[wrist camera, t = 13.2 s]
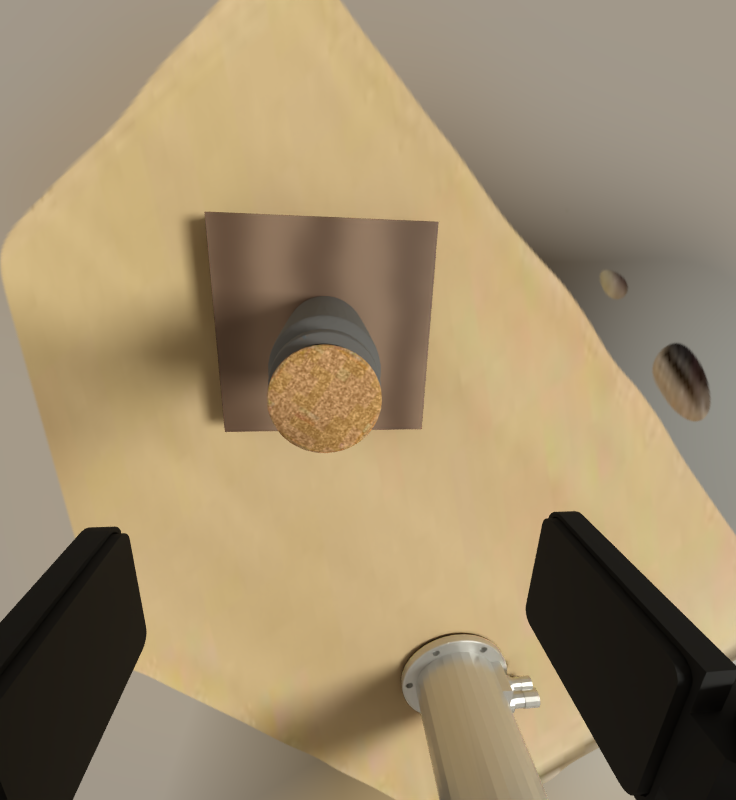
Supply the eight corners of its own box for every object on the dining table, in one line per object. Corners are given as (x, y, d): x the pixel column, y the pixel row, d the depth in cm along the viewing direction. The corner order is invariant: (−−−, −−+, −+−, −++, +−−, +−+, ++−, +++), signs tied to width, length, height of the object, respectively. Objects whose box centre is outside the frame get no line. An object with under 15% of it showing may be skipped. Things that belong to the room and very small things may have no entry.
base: (428, 224, 32) (438, 221, 29) (413, 415, 37) (421, 429, 34) (215, 215, 30) (204, 211, 27) (232, 417, 35) (224, 431, 32)
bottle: (379, 342, 31) (422, 413, 17) (318, 386, 32) (312, 489, 18) (332, 278, 29) (339, 299, 15) (269, 327, 30) (219, 389, 16)
